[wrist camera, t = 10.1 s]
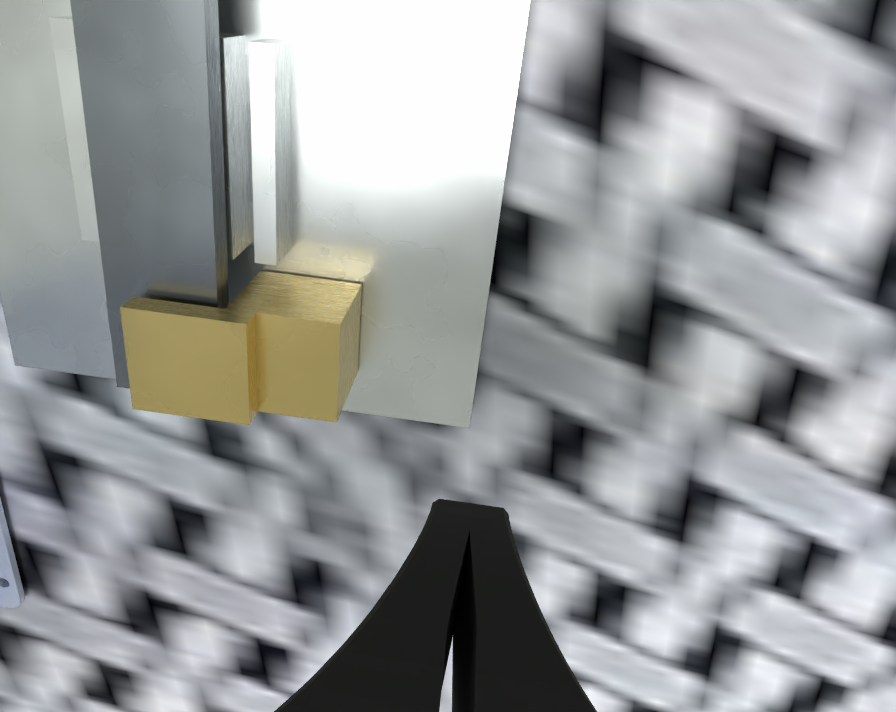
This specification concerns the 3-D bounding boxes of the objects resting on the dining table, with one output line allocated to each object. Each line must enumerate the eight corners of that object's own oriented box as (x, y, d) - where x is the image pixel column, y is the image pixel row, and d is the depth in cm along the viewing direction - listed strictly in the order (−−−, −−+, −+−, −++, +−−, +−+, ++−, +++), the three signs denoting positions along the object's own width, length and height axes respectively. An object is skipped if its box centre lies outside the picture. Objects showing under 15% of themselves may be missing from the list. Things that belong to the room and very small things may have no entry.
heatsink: (471, 408, 23) (466, 455, 21) (37, 348, 24) (-17, 388, 21) (547, -129, 16) (553, -151, 14) (-68, -199, 17) (-165, -231, 14)
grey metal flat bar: (80, -154, 15) (40, -170, 14) (218, -139, 15) (190, -153, 14) (135, 368, 21) (111, 392, 19) (236, 382, 20) (217, 406, 19)
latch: (357, 373, 22) (330, 436, 19) (187, 350, 22) (133, 408, 19) (362, 284, 20) (333, 335, 17) (180, 259, 20) (119, 307, 17)
